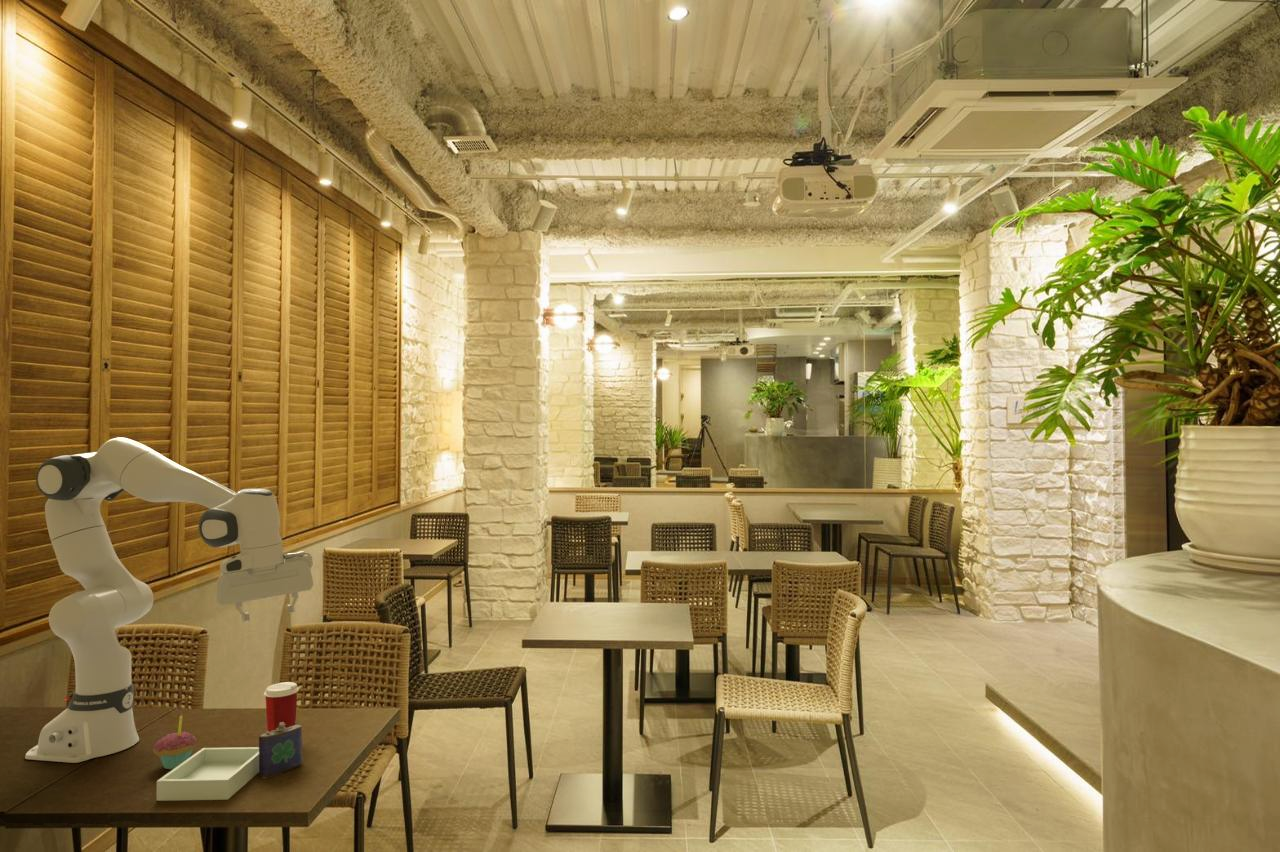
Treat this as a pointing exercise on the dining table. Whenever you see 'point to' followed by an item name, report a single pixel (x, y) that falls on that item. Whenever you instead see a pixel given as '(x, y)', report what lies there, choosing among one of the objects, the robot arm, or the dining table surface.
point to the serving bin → (210, 774)
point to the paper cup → (281, 704)
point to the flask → (280, 750)
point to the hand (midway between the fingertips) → (269, 616)
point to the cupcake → (175, 747)
